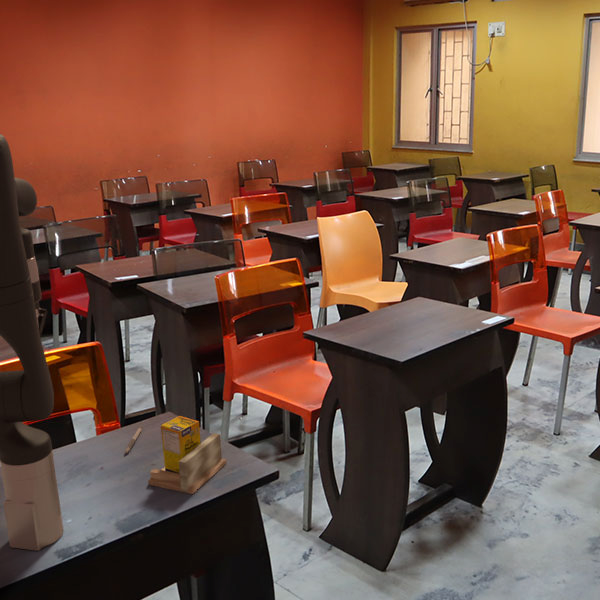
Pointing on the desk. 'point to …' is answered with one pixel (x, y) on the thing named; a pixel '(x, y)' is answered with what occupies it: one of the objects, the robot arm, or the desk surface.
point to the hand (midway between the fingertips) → (31, 358)
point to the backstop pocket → (192, 468)
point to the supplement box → (179, 441)
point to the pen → (133, 439)
